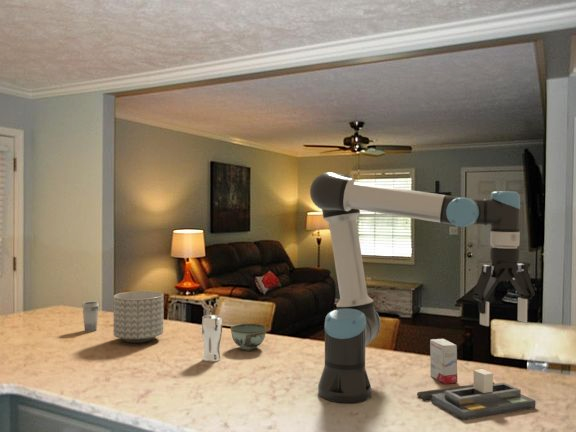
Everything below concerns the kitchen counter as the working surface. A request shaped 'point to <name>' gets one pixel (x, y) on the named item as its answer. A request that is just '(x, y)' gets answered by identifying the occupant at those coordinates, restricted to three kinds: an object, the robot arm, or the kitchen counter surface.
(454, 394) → the grey tray
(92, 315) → the cup
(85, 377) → the kitchen counter surface
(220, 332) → the beer glass
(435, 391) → the dark grey flat bar
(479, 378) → the toggle
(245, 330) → the bowl
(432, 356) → the ink box
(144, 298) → the planter
